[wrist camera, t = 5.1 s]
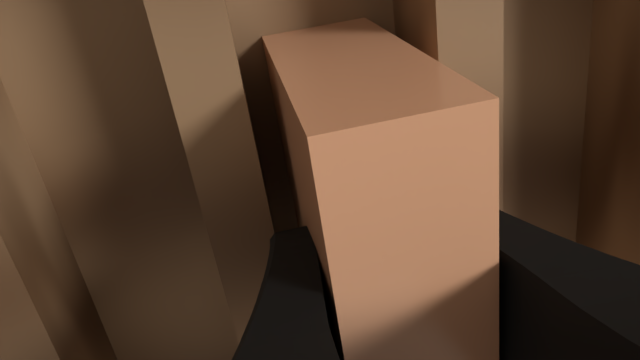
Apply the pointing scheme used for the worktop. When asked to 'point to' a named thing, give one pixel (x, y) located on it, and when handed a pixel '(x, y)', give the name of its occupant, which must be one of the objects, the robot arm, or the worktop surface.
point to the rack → (259, 153)
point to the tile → (392, 190)
